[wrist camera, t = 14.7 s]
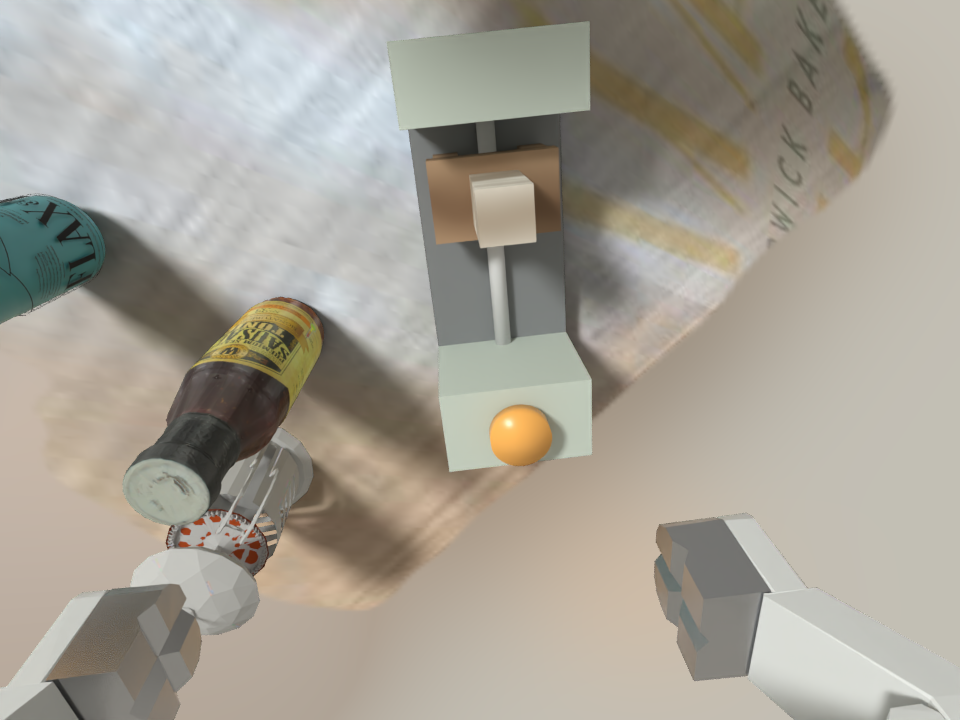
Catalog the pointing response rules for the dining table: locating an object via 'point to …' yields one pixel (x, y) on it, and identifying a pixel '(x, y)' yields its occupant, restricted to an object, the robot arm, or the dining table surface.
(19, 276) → the beverage bottle
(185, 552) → the french press
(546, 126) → the rail bench
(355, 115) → the dining table surface
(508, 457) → the button
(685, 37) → the dining table surface
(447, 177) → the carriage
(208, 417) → the sauce bottle
